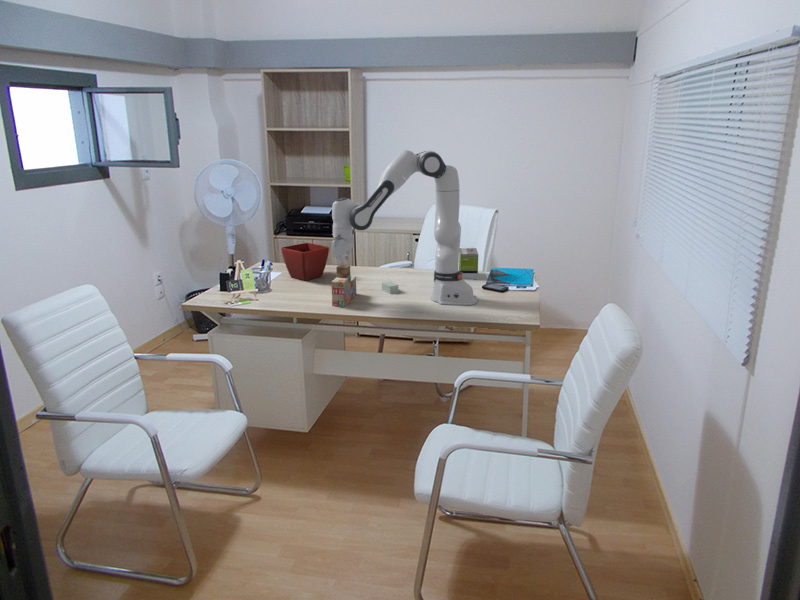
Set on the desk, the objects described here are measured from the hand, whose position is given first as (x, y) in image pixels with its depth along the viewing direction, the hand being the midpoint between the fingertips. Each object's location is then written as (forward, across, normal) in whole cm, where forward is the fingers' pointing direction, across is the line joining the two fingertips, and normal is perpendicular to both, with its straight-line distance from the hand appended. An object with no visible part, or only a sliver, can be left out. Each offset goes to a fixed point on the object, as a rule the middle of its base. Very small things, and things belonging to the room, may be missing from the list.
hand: (343, 261), depth 279 cm
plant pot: (+19, +36, +36) cm, 54 cm away
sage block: (+20, +22, -16) cm, 34 cm away
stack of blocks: (+20, +2, +1) cm, 20 cm away
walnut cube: (+7, 0, 0) cm, 7 cm away
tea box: (+21, +62, -50) cm, 82 cm away
